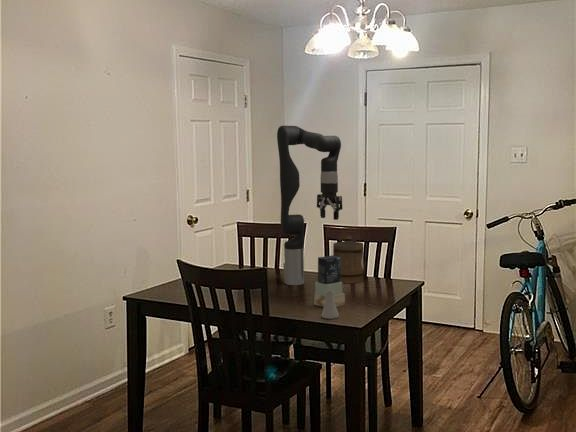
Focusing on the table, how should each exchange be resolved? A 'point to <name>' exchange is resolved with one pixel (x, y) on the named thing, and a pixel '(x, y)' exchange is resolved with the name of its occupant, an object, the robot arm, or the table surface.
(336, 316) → the flask
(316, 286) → the tower top
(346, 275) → the wooden container
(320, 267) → the box
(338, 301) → the tower base
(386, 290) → the table surface
